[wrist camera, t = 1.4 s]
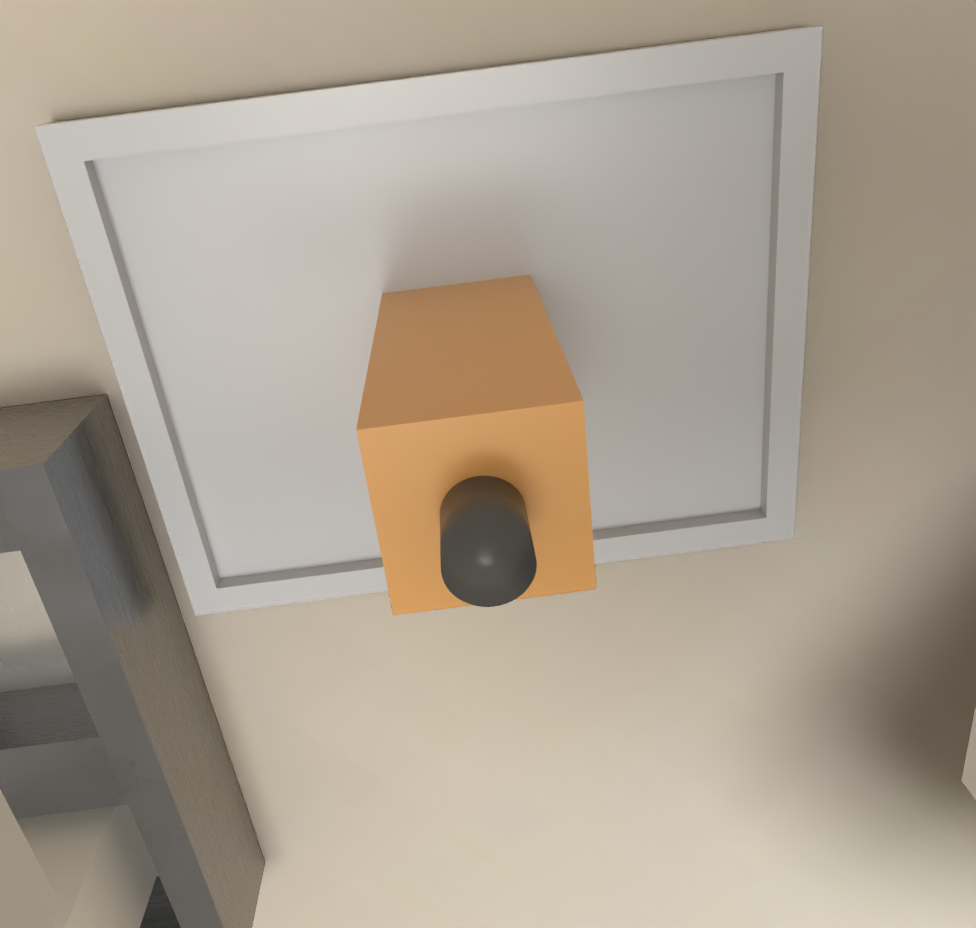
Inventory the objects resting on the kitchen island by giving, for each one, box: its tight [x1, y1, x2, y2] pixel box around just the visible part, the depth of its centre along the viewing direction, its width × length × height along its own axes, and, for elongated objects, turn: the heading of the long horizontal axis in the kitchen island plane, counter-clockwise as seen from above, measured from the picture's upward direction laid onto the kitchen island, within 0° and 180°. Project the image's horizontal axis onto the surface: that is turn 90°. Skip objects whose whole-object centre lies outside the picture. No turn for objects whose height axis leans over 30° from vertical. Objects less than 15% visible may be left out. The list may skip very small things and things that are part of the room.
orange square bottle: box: [356, 275, 596, 615], centre depth 21 cm, size 4×4×12 cm
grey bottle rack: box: [0, 394, 265, 928], centre depth 30 cm, size 10×22×5 cm, turn 7°
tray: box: [34, 26, 823, 616], centre depth 27 cm, size 21×16×1 cm
